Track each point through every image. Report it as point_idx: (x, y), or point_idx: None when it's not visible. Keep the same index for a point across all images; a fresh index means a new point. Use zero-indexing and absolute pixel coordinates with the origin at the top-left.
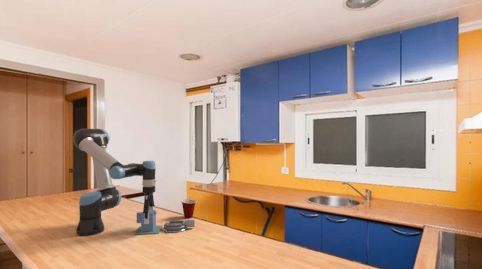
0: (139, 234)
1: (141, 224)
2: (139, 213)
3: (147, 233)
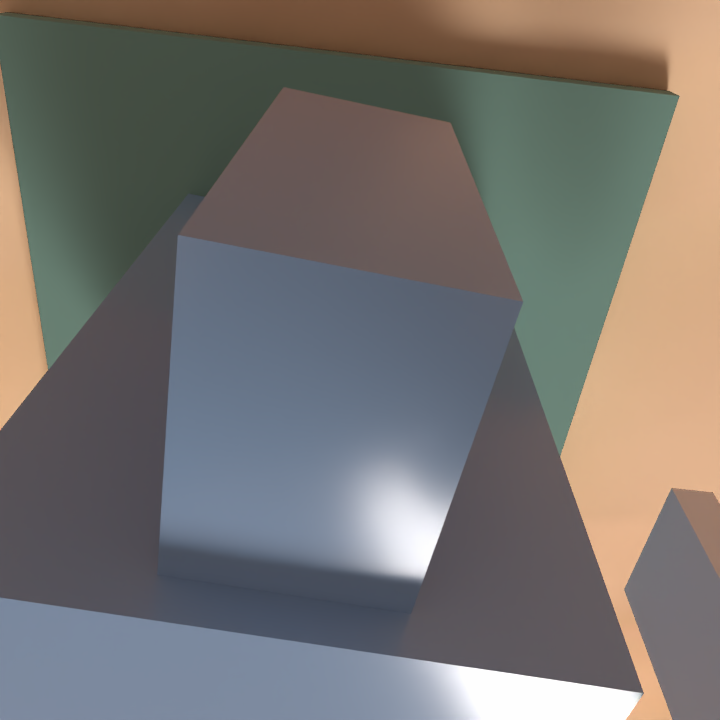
0: (23, 164)
1: (129, 279)
2: (171, 420)
3: (44, 344)
